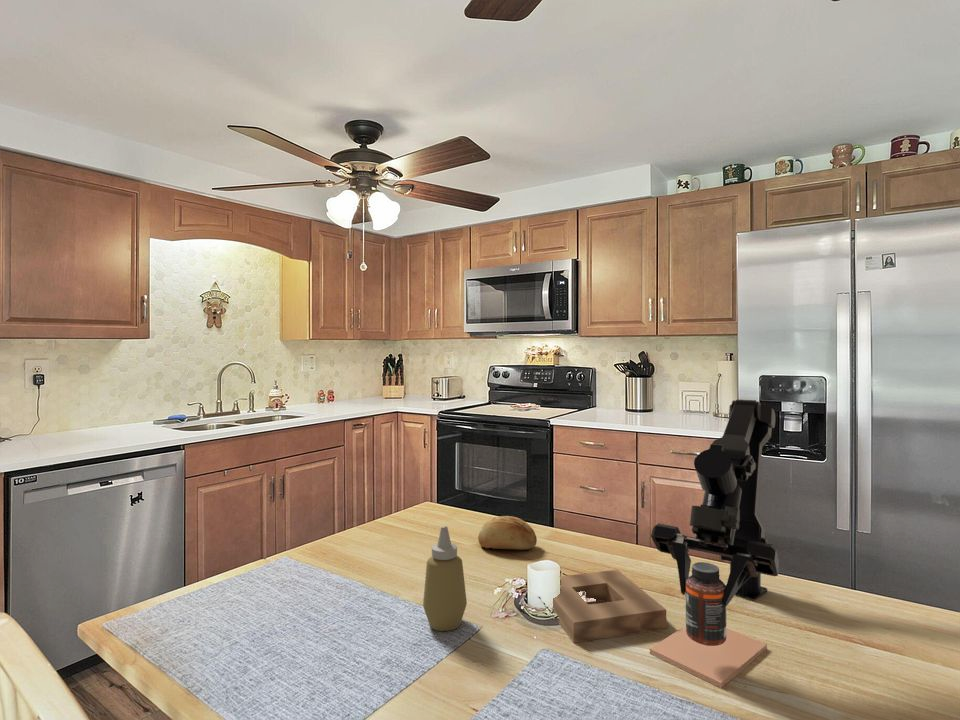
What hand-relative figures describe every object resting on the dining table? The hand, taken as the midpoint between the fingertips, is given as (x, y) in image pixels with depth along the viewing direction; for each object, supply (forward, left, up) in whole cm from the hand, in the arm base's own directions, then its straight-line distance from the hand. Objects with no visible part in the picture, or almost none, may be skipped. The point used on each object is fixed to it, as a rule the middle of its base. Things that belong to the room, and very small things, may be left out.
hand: (703, 598), depth 84 cm
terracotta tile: (-6, -2, -12) cm, 13 cm away
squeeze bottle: (+22, -38, -12) cm, 46 cm away
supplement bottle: (-1, 0, -7) cm, 7 cm away
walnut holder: (-3, -23, -12) cm, 26 cm away
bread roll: (-12, -58, -12) cm, 61 cm away
